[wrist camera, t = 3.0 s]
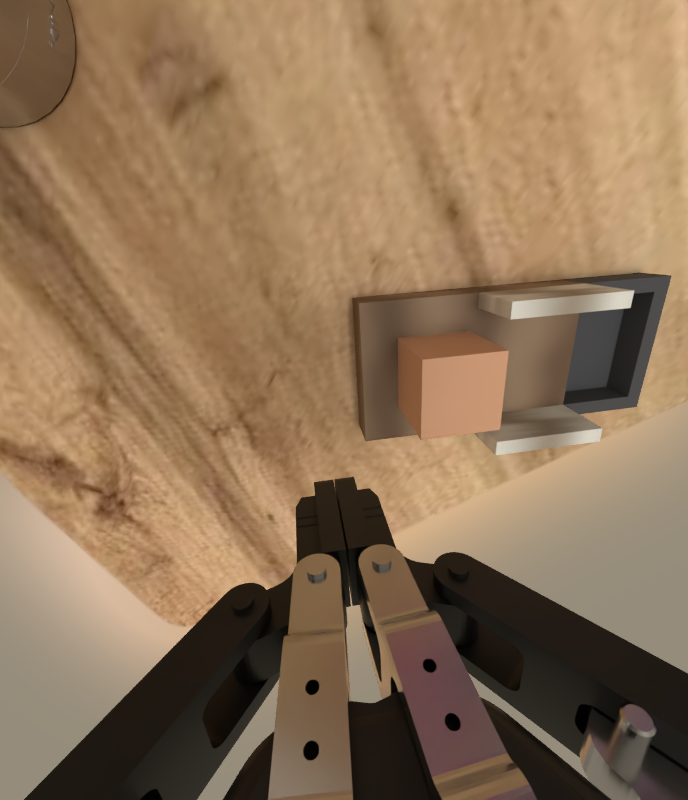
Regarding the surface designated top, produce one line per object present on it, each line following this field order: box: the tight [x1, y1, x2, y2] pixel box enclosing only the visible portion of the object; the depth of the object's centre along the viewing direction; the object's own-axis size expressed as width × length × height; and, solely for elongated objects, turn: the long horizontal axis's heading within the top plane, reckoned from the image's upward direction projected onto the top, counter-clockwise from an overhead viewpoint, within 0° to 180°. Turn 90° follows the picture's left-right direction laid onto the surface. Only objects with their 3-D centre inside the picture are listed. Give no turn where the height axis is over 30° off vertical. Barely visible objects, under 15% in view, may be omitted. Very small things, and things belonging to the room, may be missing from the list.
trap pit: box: [563, 273, 671, 414], centre depth 29 cm, size 6×10×2 cm, turn 4°
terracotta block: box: [398, 331, 509, 440], centre depth 24 cm, size 5×5×5 cm
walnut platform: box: [353, 280, 635, 455], centre depth 26 cm, size 16×10×6 cm, turn 94°
